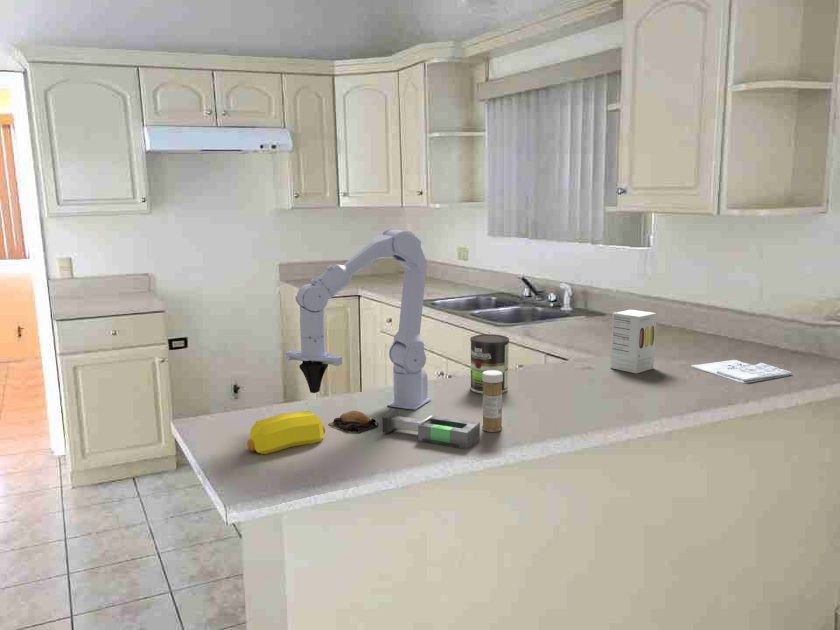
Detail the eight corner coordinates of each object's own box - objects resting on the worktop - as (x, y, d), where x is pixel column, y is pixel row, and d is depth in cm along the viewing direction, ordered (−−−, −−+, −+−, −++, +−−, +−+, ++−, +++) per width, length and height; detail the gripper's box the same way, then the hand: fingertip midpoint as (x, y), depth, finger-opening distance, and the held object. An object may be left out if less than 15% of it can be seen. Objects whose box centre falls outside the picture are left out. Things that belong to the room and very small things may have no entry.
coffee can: (493, 397, 190) (493, 344, 188) (462, 389, 197) (462, 338, 195) (516, 388, 198) (516, 337, 195) (486, 381, 205) (486, 332, 202)
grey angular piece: (395, 424, 169) (394, 409, 168) (435, 431, 164) (435, 415, 164) (382, 433, 163) (382, 417, 163) (423, 439, 159) (423, 423, 158)
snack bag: (743, 386, 199) (744, 378, 199) (688, 369, 217) (689, 362, 217) (793, 377, 207) (793, 370, 206) (736, 362, 225) (736, 355, 225)
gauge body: (432, 430, 165) (432, 415, 165) (479, 438, 160) (479, 422, 160) (418, 441, 159) (418, 425, 158) (467, 449, 154) (467, 432, 153)
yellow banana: (332, 442, 160) (317, 432, 166) (331, 412, 159) (316, 403, 165) (254, 460, 150) (241, 448, 156) (252, 429, 149) (239, 419, 155)
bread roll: (325, 427, 170) (324, 412, 170) (352, 418, 176) (351, 403, 176) (356, 437, 163) (356, 422, 163) (383, 428, 169) (383, 412, 169)
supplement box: (636, 374, 210) (639, 316, 207) (609, 368, 217) (611, 312, 214) (654, 368, 216) (657, 312, 213) (627, 362, 223) (629, 308, 220)
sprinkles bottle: (490, 424, 169) (490, 368, 166) (506, 429, 166) (506, 371, 163) (478, 429, 166) (478, 372, 163) (494, 434, 163) (494, 376, 160)
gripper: (277, 336, 171) (279, 392, 173) (329, 342, 164) (331, 400, 167) (295, 330, 177) (297, 385, 179) (346, 336, 171) (347, 392, 173)
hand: (314, 391), depth 173 cm, fingers closed
